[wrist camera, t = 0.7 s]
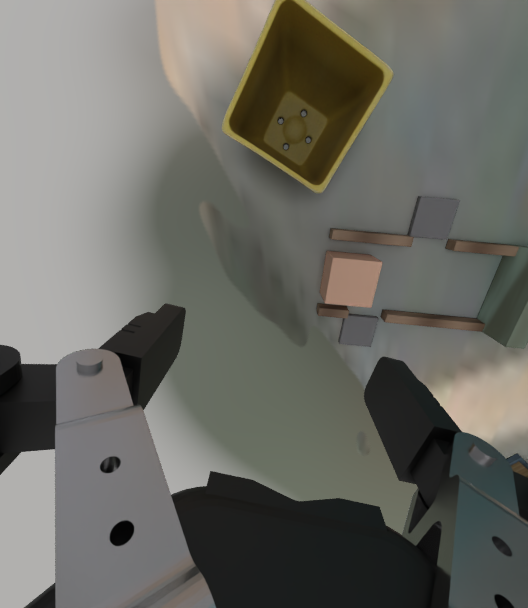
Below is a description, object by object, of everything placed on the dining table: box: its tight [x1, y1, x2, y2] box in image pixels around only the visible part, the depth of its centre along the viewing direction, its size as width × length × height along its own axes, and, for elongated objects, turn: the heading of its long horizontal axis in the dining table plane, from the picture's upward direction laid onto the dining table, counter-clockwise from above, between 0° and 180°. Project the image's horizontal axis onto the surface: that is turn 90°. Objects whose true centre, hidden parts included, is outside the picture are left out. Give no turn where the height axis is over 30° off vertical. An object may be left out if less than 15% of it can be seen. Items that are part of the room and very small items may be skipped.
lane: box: [317, 228, 528, 349], centre depth 29 cm, size 22×10×5 cm, turn 85°
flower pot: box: [222, 0, 393, 193], centre depth 22 cm, size 9×9×9 cm
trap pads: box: [339, 197, 460, 347], centre depth 31 cm, size 5×20×1 cm, turn 156°
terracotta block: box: [320, 251, 382, 308], centre depth 30 cm, size 5×5×4 cm
